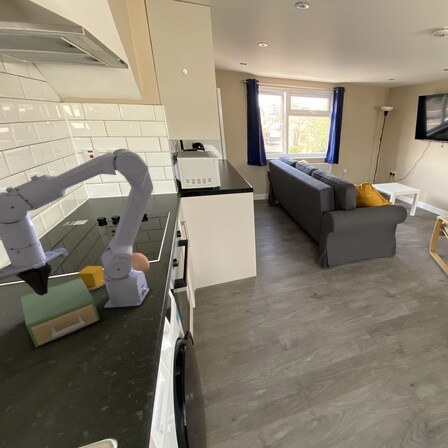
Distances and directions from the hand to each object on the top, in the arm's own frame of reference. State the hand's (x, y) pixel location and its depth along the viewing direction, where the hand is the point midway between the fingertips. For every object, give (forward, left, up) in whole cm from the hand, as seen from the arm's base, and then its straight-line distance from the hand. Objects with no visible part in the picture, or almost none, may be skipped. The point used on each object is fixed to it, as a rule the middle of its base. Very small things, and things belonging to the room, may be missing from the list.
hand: (42, 293), depth 65 cm
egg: (-13, -21, -10) cm, 27 cm away
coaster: (0, -18, -9) cm, 21 cm away
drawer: (-4, +1, -8) cm, 9 cm away
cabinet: (-2, -2, -9) cm, 10 cm away
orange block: (0, -18, -9) cm, 20 cm away
